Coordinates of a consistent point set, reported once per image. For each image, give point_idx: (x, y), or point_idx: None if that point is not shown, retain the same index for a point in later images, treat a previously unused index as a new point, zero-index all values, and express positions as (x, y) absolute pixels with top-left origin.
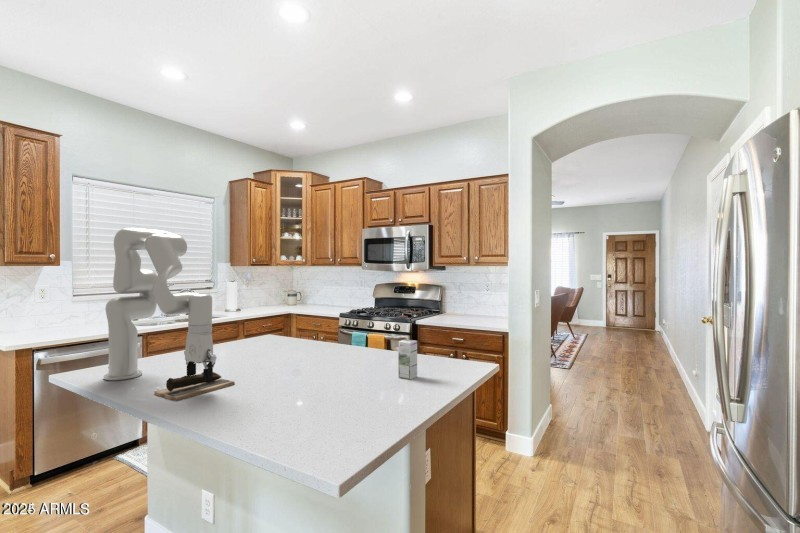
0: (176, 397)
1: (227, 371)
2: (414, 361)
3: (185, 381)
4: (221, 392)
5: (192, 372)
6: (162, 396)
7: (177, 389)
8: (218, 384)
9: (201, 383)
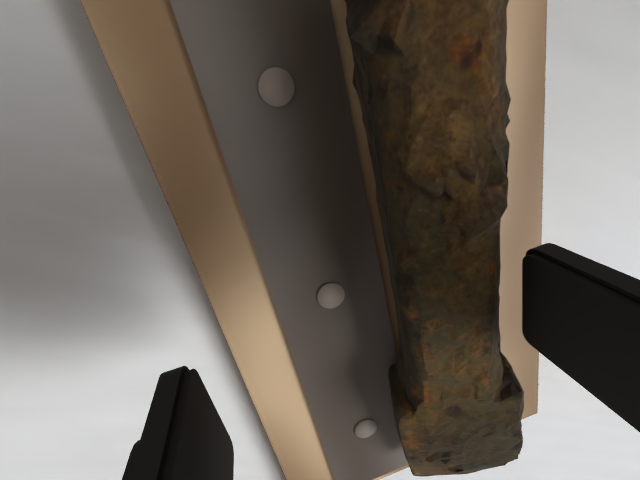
0: None
1: (594, 477)
2: None
3: (381, 175)
4: (130, 400)
5: (550, 320)
6: None
7: None
8: (310, 420)
9: None
